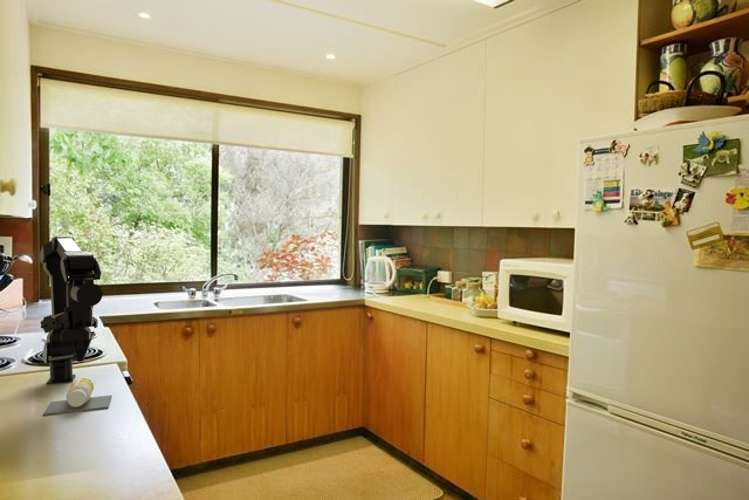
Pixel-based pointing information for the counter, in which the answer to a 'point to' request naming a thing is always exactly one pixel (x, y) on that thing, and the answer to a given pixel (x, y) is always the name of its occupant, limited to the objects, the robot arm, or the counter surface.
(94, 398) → the mat
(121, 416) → the counter surface
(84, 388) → the supplement bottle
